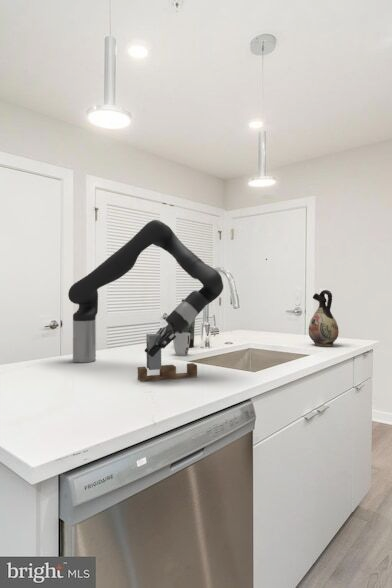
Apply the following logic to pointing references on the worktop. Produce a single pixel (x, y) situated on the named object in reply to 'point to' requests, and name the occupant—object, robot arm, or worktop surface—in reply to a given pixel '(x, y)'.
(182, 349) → the cup
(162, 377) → the brown notched bar
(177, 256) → the robot arm
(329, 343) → the ceramic jug
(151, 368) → the gray rectangular block
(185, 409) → the worktop surface
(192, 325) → the olive oil
